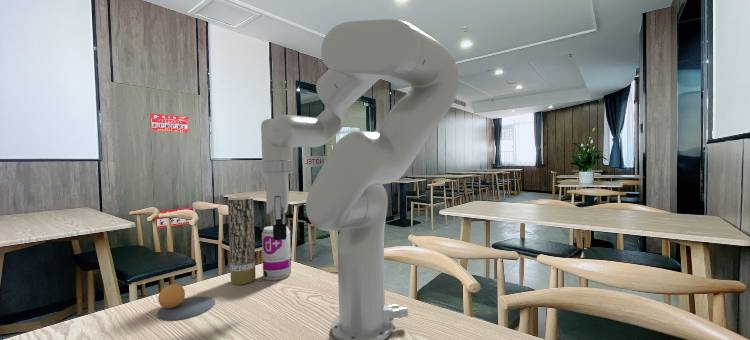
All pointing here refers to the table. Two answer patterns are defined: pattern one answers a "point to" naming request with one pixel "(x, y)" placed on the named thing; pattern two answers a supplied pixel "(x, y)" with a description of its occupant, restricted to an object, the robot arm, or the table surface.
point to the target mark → (187, 309)
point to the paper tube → (241, 239)
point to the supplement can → (275, 255)
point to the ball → (171, 296)
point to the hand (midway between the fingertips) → (280, 239)
